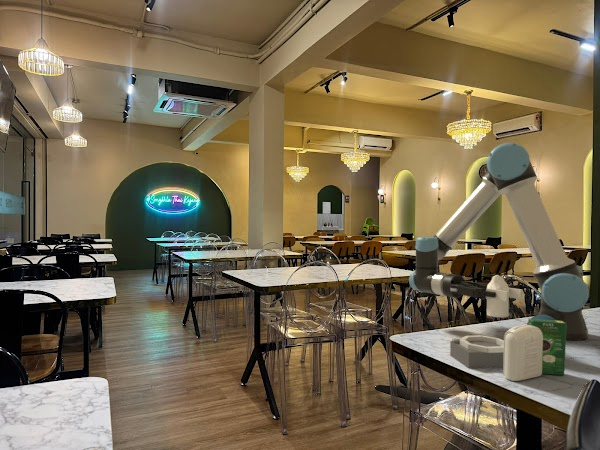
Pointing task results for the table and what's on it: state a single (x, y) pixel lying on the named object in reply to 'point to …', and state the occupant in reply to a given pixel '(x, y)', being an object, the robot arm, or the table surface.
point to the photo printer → (522, 353)
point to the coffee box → (552, 345)
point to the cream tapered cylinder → (497, 306)
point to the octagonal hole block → (478, 351)
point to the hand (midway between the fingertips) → (514, 295)
